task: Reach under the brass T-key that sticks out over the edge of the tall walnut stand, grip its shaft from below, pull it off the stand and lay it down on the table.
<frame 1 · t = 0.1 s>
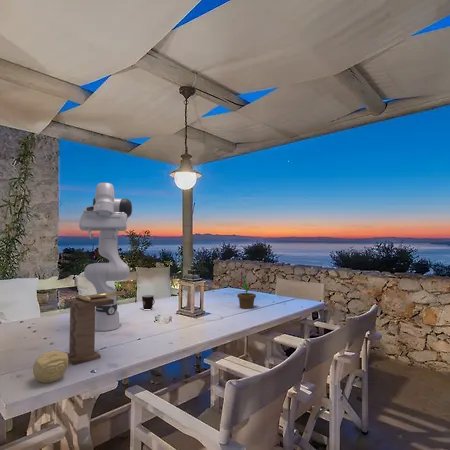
hand: (102, 238, 150), 54 cm above the table, tool tilted 30°, fingers open, 8 cm apart
coffee mug: (148, 310, 252), on the table
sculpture: (50, 380, 130), on the table
brass T-key: (103, 297, 161), point 26 cm above the table, touching walnut stand
flowerpot: (246, 307, 262), on the table
walnut stand: (88, 356, 155), on the table
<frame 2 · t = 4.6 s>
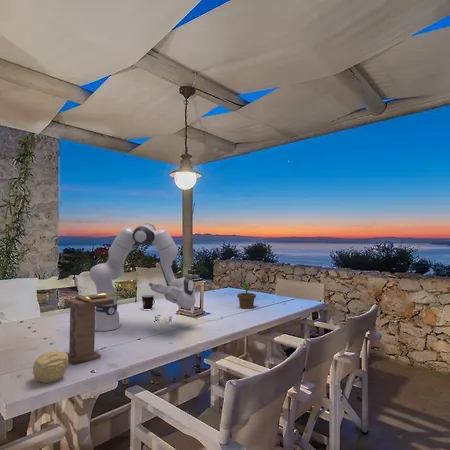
hand: (153, 284, 186), 28 cm above the table, tool pointing upward, fingers open, 8 cm apart
nothing on the table moved.
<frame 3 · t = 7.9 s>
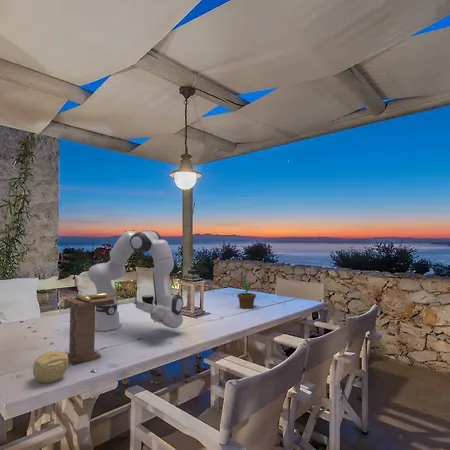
hand: (139, 303, 174), 21 cm above the table, tool pointing upward, fingers open, 8 cm apart
nothing on the table moved.
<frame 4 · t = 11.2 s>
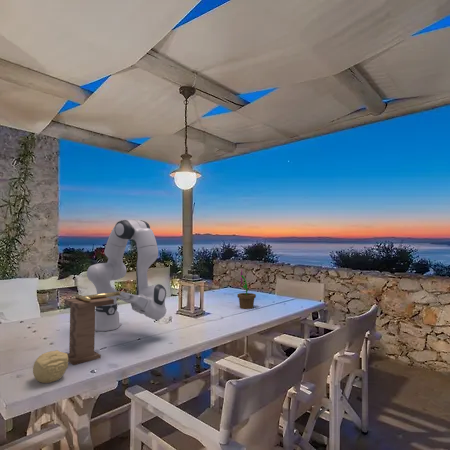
hand: (118, 292, 166), 27 cm above the table, tool pointing upward, fingers closed on brass T-key, 2 cm apart
brass T-key: (103, 297, 161), point 26 cm above the table, touching gripper, walnut stand
everything else where it was.
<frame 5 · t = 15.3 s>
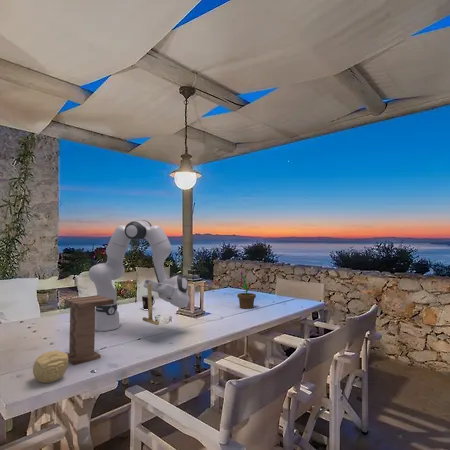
hand: (147, 281, 178), 31 cm above the table, tool pointing upward, fingers closed on brass T-key, 2 cm apart
brass T-key: (151, 301, 180), point 20 cm above the table, tilted 93°, touching gripper
everything else where it was.
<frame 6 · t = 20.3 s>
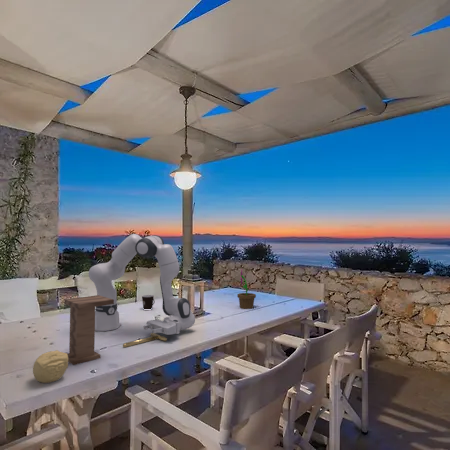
hand: (148, 329, 178), 6 cm above the table, tool horizontal, fingers open, 7 cm apart
brass T-key: (142, 339, 175), point 2 cm above the table, tilted 180°
everything else where it was.
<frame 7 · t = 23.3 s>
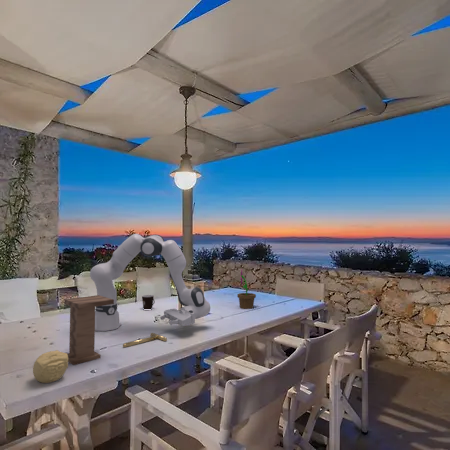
hand: (165, 320, 187), 9 cm above the table, tool horizontal, fingers open, 8 cm apart
nothing on the table moved.
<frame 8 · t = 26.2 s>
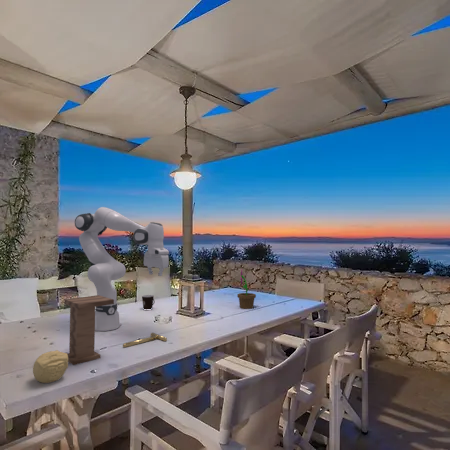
hand: (155, 275, 192), 33 cm above the table, tool pointing down, fingers open, 8 cm apart
nothing on the table moved.
at the end: brass T-key inside the target area (1.4 cm from its centre), point 1.9 cm above the table; brass T-key touching table; the gripper is holding nothing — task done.
